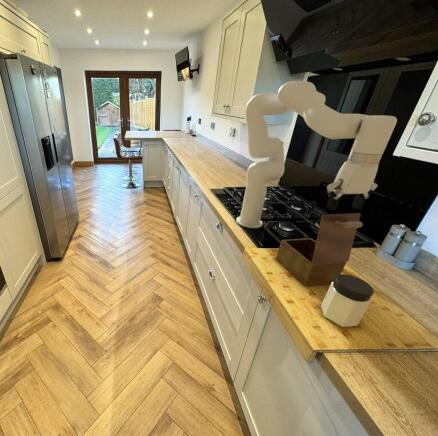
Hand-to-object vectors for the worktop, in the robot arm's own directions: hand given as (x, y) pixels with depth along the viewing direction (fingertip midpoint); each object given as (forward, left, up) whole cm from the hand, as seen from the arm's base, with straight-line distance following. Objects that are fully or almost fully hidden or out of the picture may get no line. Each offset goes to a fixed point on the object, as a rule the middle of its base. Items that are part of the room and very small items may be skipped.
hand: (343, 208), depth 81 cm
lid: (+12, -6, -6) cm, 14 cm away
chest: (+6, -8, -23) cm, 25 cm away
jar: (+27, -6, -24) cm, 36 cm away
